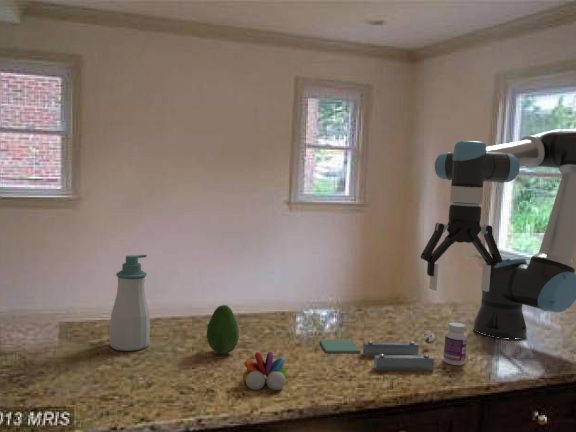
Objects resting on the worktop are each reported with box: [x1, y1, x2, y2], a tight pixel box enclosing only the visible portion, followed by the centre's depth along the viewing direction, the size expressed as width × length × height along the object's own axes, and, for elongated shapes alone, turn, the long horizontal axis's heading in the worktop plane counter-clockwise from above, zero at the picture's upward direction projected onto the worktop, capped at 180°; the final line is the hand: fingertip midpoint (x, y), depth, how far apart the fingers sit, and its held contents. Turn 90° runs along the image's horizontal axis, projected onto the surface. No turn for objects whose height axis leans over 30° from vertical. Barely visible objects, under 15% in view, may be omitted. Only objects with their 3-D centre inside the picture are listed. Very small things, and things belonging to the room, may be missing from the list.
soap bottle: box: [108, 254, 151, 352], centre depth 139 cm, size 10×10×23 cm
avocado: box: [206, 304, 240, 355], centre depth 137 cm, size 8×8×12 cm
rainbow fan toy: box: [242, 351, 289, 391], centre depth 119 cm, size 8×10×7 cm
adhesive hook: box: [425, 330, 436, 343], centre depth 157 cm, size 3×3×3 cm
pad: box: [319, 339, 362, 354], centre depth 147 cm, size 9×9×1 cm
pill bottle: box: [442, 322, 468, 366], centre depth 139 cm, size 5×5×10 cm
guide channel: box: [362, 340, 435, 372], centre depth 138 cm, size 14×12×4 cm
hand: (459, 289), depth 138 cm, fingers open, 13 cm apart
